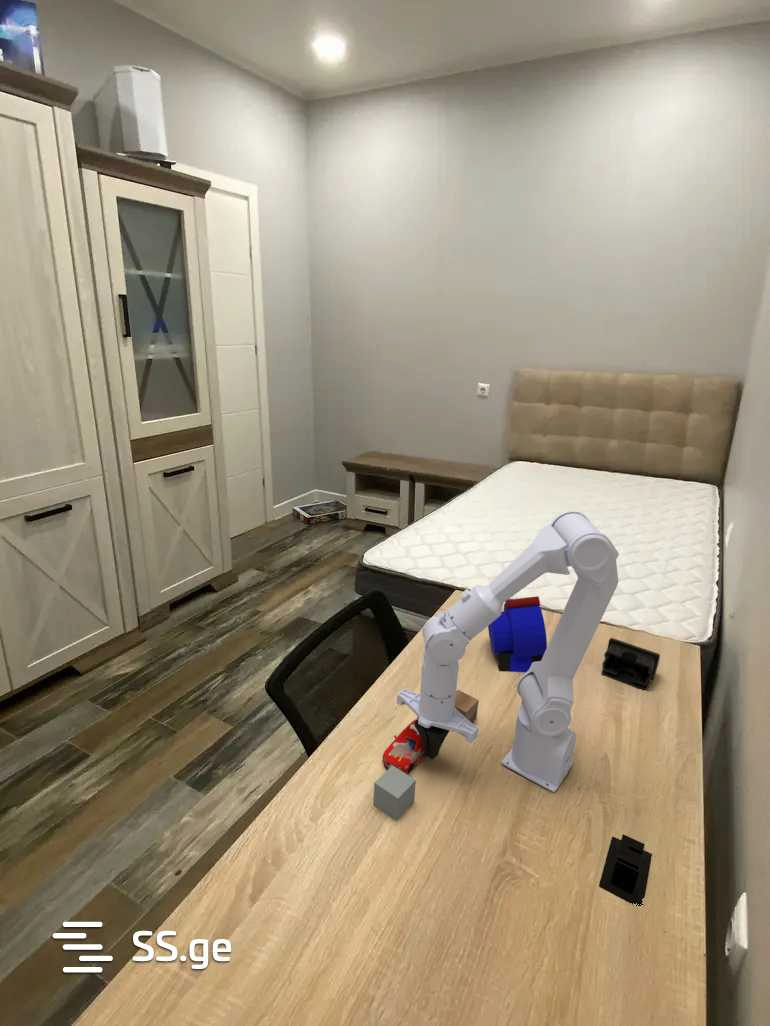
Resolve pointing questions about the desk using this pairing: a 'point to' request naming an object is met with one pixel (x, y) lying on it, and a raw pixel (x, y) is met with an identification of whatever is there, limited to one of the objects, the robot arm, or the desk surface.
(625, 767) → the desk surface
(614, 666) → the black slotted holder
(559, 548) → the robot arm
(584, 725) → the desk surface
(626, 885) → the black open box
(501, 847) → the desk surface
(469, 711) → the walnut block
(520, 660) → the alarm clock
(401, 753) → the race car
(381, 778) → the slate block
